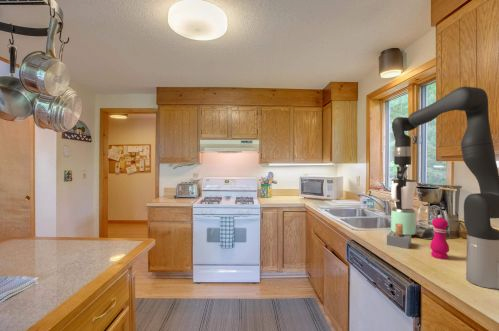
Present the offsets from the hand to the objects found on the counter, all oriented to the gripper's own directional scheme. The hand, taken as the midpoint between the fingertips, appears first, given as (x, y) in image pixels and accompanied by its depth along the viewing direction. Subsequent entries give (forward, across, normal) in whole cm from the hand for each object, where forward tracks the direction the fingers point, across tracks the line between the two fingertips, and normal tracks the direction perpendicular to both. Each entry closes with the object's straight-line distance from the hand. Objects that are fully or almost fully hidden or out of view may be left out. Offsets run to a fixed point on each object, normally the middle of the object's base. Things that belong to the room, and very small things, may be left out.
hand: (402, 186), depth 130 cm
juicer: (+32, +28, +4) cm, 43 cm away
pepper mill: (+32, -2, -16) cm, 36 cm away
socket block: (+32, +6, +2) cm, 33 cm away
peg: (+31, +6, +2) cm, 32 cm away
